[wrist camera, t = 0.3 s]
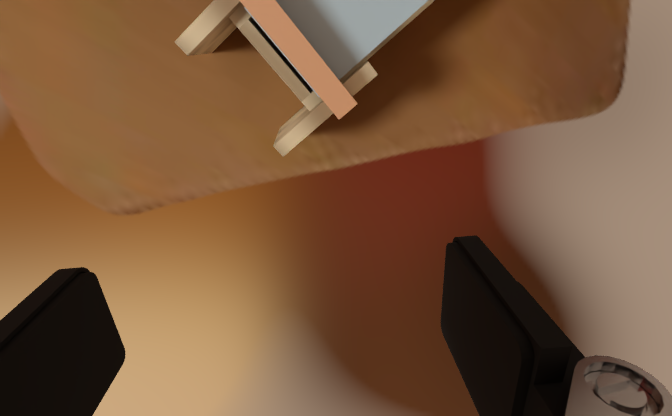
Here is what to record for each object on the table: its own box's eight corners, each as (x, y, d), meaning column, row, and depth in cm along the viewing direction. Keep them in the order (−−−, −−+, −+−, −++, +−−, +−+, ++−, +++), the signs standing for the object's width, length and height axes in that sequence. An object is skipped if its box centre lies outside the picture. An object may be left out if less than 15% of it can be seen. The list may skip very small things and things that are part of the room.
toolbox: (376, -139, 29) (394, -192, 22) (453, -9, 33) (488, -22, 26) (201, 42, 33) (174, 41, 27) (288, 136, 37) (283, 156, 31)
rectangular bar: (243, -40, 25) (238, -46, 23) (354, 100, 29) (357, 103, 27) (225, -20, 25) (218, -25, 23) (337, 115, 29) (339, 119, 28)
